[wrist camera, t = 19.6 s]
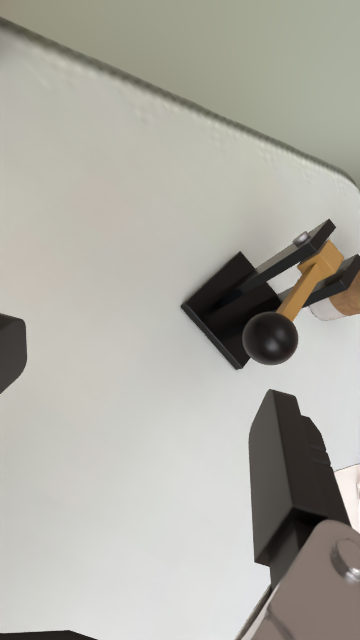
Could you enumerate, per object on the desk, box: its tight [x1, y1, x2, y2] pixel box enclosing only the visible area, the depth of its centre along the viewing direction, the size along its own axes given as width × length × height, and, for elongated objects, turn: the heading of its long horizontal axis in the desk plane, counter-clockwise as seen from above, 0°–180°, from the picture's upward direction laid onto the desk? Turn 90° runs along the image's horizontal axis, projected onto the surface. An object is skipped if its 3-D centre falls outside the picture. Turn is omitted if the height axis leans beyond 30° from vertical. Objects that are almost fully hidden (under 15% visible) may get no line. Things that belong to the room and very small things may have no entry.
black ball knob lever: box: [242, 240, 344, 365], centre depth 23 cm, size 14×4×4 cm, turn 136°
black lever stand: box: [181, 219, 360, 370], centre depth 31 cm, size 12×10×15 cm
